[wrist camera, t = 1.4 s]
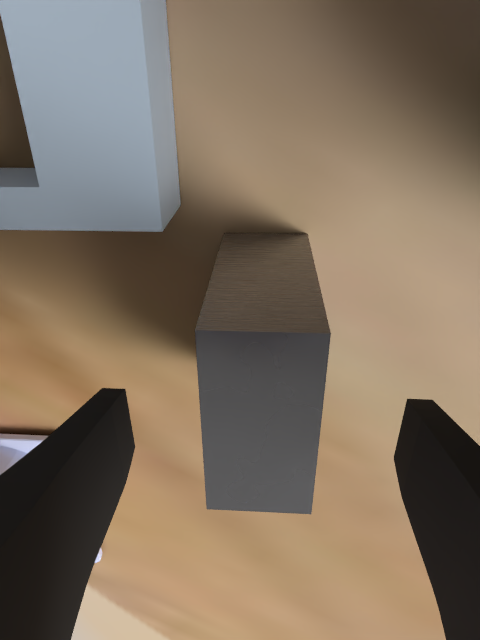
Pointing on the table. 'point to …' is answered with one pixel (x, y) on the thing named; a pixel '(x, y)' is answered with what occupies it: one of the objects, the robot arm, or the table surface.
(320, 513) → the table surface
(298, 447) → the tall dark grey prism
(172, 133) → the slotted pale blue plate
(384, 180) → the table surface
